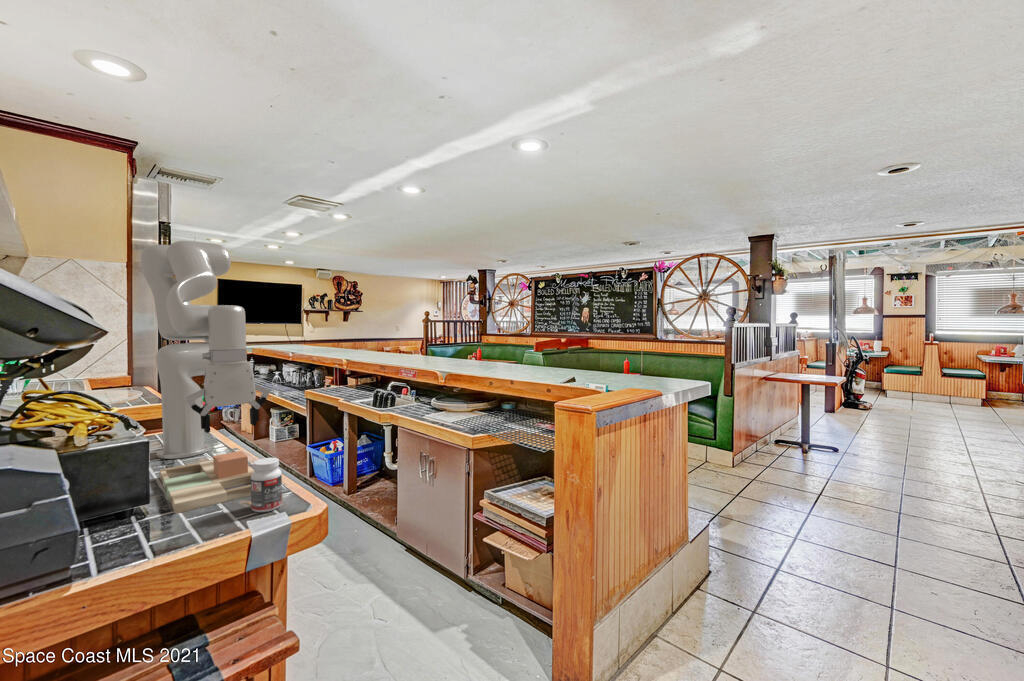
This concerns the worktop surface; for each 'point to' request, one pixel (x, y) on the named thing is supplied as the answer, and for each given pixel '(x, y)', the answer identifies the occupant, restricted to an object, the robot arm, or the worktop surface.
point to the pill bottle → (266, 485)
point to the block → (230, 464)
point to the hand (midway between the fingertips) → (231, 428)
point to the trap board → (202, 486)
